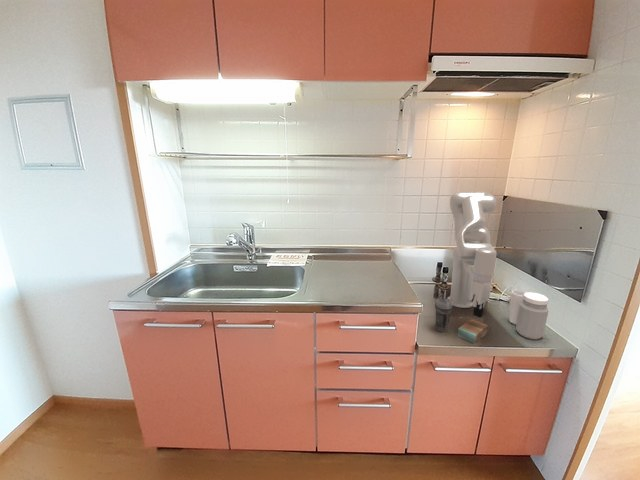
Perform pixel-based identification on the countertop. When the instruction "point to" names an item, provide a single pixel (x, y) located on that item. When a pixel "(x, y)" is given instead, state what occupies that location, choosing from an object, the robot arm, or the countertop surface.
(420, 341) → the countertop surface
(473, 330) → the wooden block
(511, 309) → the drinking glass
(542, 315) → the jar
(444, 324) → the beverage cup
